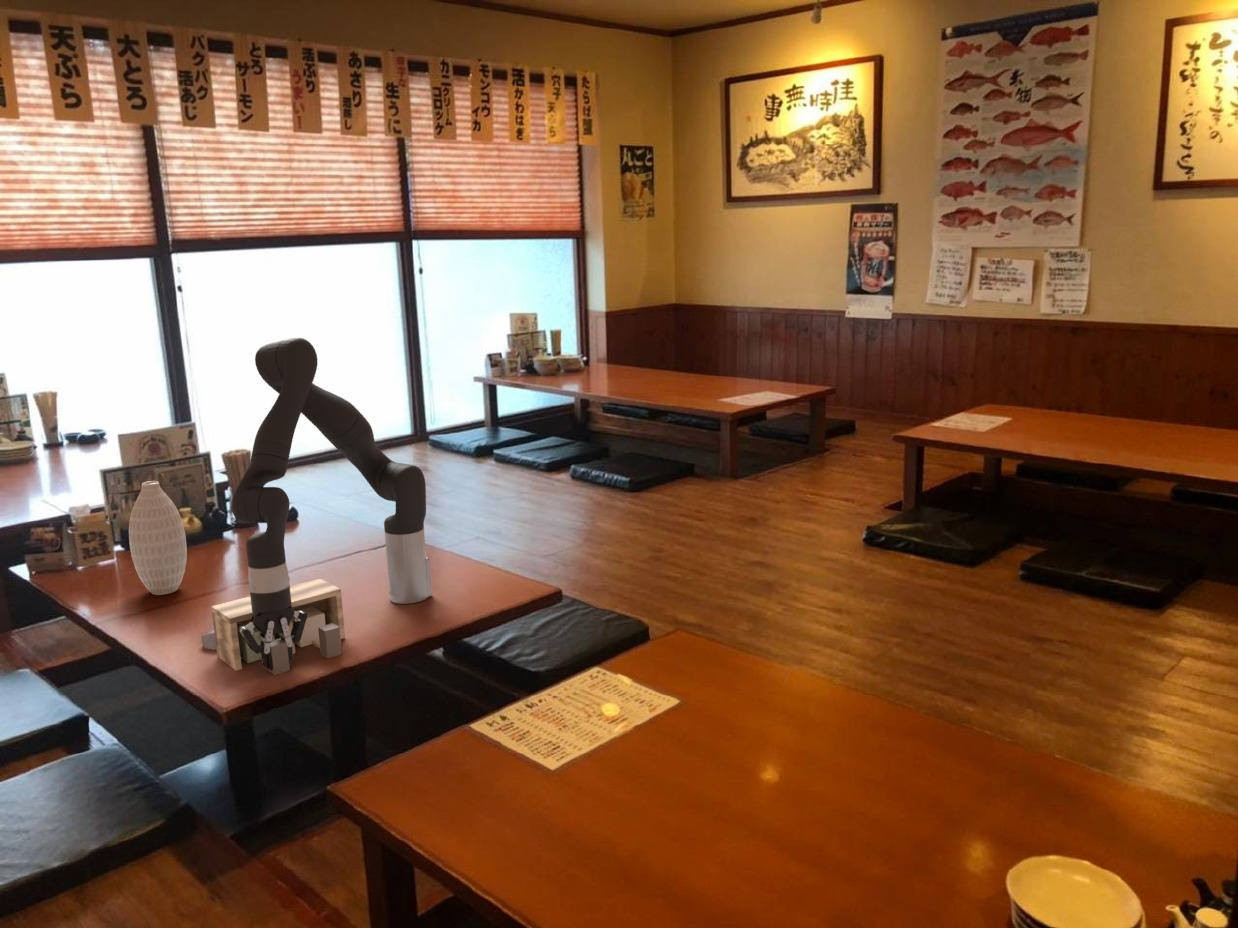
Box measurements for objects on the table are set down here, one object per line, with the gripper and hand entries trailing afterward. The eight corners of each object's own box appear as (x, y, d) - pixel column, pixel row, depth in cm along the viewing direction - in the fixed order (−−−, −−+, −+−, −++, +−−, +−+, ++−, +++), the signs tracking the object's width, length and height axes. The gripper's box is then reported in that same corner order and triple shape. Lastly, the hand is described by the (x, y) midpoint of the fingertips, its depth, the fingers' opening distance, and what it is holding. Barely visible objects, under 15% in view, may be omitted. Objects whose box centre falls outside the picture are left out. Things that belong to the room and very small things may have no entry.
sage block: (236, 654, 207) (233, 627, 206) (264, 646, 211) (261, 620, 210) (267, 677, 196) (264, 648, 195) (296, 668, 200) (293, 640, 199)
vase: (193, 580, 256) (180, 474, 250) (189, 595, 245) (175, 485, 238) (140, 586, 253) (125, 479, 246) (133, 602, 241) (117, 490, 235)
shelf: (217, 656, 207) (211, 606, 204) (324, 625, 222) (319, 578, 220) (235, 670, 199) (229, 618, 197) (345, 637, 215) (340, 588, 213)
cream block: (288, 639, 215) (286, 613, 214) (314, 632, 219) (312, 606, 217) (321, 660, 203) (318, 633, 202) (348, 651, 207) (345, 625, 206)
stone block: (199, 657, 212) (240, 651, 209) (193, 636, 211) (234, 629, 209) (231, 638, 223) (270, 631, 221) (225, 617, 222) (264, 611, 220)
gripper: (295, 572, 202) (303, 651, 206) (226, 589, 193) (236, 671, 197) (311, 580, 197) (319, 661, 201) (241, 598, 188) (251, 682, 192)
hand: (278, 665), depth 199 cm, fingers closed on sage block, 3 cm apart
